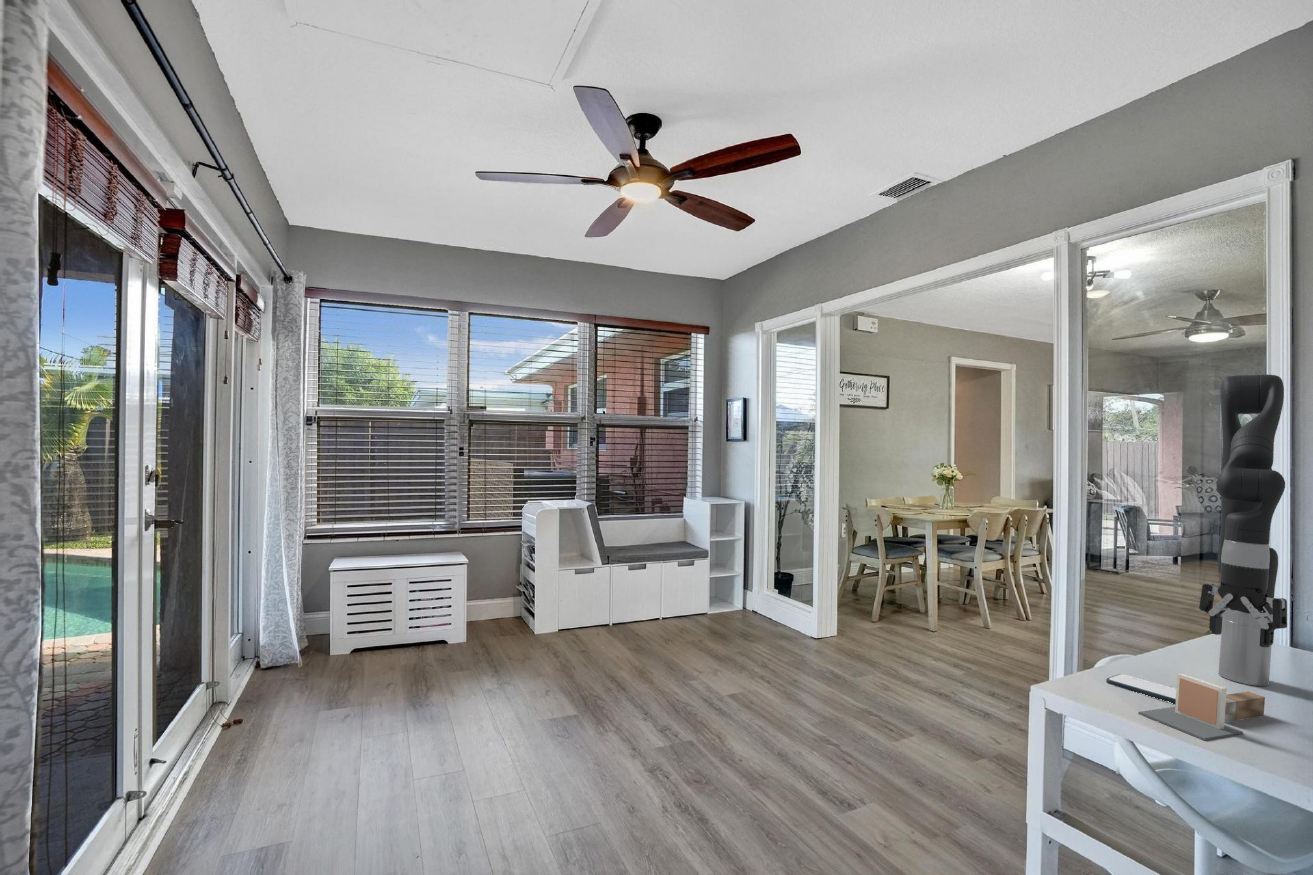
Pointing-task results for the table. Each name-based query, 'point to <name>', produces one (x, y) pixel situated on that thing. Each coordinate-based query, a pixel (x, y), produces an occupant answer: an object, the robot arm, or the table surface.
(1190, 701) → the tile
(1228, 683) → the table surface
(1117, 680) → the phone case
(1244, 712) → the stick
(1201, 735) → the mat
